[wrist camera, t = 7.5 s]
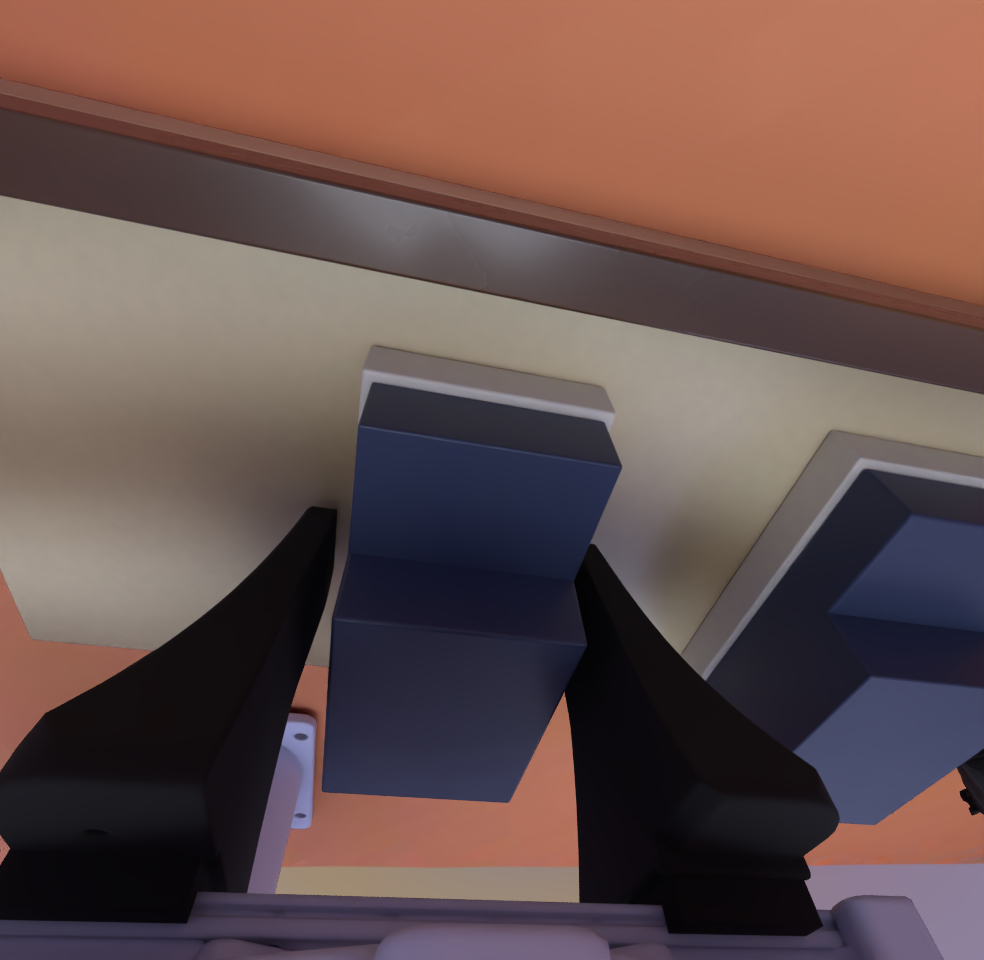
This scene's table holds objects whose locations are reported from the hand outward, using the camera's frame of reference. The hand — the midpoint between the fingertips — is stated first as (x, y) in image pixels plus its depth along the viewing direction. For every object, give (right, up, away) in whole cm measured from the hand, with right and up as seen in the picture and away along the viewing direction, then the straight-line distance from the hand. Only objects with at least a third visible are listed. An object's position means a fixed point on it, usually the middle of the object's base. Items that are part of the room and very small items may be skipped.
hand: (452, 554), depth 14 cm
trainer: (0, 0, 0) cm, 0 cm away
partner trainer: (+10, -1, +2) cm, 11 cm away
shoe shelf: (+1, +2, +1) cm, 2 cm away
